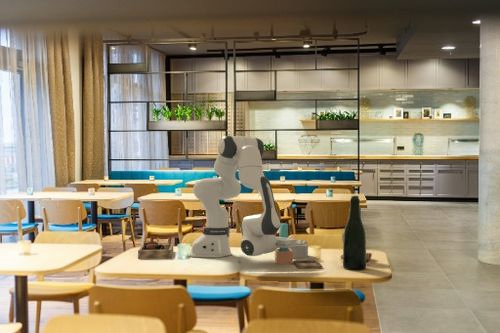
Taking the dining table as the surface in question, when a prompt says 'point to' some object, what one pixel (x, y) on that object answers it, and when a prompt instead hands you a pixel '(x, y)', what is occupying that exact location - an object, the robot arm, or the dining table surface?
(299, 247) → the gray bumpy block
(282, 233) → the teal dowel
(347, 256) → the dark green wine bottle
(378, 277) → the dining table surface
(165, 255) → the shallow wooden crate
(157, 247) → the pottery mug
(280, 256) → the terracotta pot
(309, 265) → the walnut tray
